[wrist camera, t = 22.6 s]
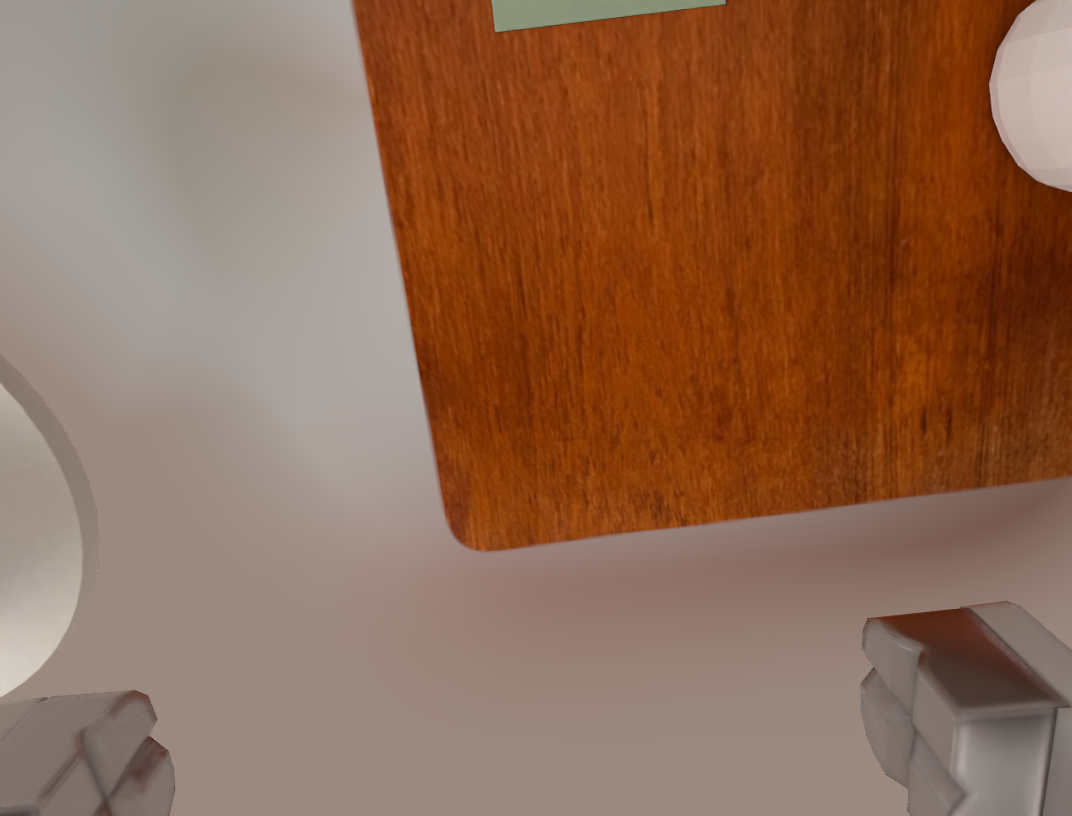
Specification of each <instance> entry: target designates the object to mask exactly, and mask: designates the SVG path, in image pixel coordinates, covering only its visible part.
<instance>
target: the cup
mask: <svg viewBox="0 0 1072 816" xmlns="http://www.w3.org/2000/svg"><path fill="white" fill-rule="evenodd" d="M989 88H990V97H991V107H992V116H993V119H994V121H995V124H996V126H997V129H998V132H999V134H1000V137H1001V139H1002V141H1003V143H1004V144H1005V146H1006V147H1007V149H1008V150H1009V152H1010V154H1011V155H1012V157H1013V158H1014V160H1015V161H1016V163H1017V164H1018V166H1019V167H1021V168H1022V169H1023V170H1024V171H1026V172H1027V173H1028V174H1029V175H1030V176H1032V177H1033V178H1034V179H1035V180H1037V181H1039V182H1041V183H1044V184H1046V185H1049V186H1053V187H1056V188H1059V189H1063V190H1066V191H1070V192H1072V0H1036V1H1035V2H1034V3H1032V4H1031V5H1030V6H1028V7H1027V8H1026V9H1025V10H1024V11H1022V12H1021V13H1020V14H1019V15H1018V16H1017V18H1016V19H1015V21H1014V23H1013V25H1012V26H1011V28H1010V30H1009V31H1008V33H1007V35H1006V36H1005V38H1004V40H1003V42H1002V43H1001V45H1000V47H999V48H998V51H997V55H996V59H995V63H994V66H993V70H992V74H991V78H990V82H989Z"/></svg>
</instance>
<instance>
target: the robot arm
mask: <svg viewBox="0 0 1072 816" xmlns="http://www.w3.org/2000/svg"><path fill="white" fill-rule="evenodd" d="M862 651H863V652H864V654H865V655H866V657H867V658H868V660H869V661H870V662H871V664H872V665H873V669H872V670H871V671H870V672H869V674H868V675H867V676H866V677H865V679H864V680H863V681H862V683H861V713H862V718H863V722H864V727H865V731H866V736H867V738H868V740H869V743H870V745H871V748H872V750H873V753H874V755H875V757H876V758H877V760H878V762H879V764H880V765H881V767H882V769H883V771H884V772H885V774H886V775H887V776H889V777H890V778H892V779H894V780H895V781H897V782H898V783H900V784H901V785H903V786H904V787H906V788H908V807H907V811H908V813H909V814H910V816H1072V650H1071V649H1070V648H1069V647H1067V646H1066V645H1065V644H1064V643H1063V642H1062V641H1061V640H1059V639H1058V638H1057V637H1056V636H1055V635H1054V634H1052V633H1051V632H1050V631H1049V630H1048V629H1047V628H1045V627H1044V626H1043V625H1042V624H1041V623H1040V622H1039V621H1037V620H1036V619H1035V618H1034V617H1033V616H1032V615H1030V614H1029V613H1028V612H1027V611H1026V610H1025V609H1023V608H1022V607H1021V606H1019V605H1017V604H1014V603H1011V602H1008V601H1002V602H994V603H986V604H978V605H970V606H963V607H960V608H959V609H950V610H941V611H931V612H922V613H912V614H903V615H893V616H884V617H875V618H867V621H866V623H865V626H864V629H863V638H862ZM156 721H157V717H156V714H155V712H154V709H153V707H152V704H151V701H150V699H149V697H148V695H146V694H143V693H141V692H138V691H136V690H132V691H118V692H105V693H92V694H79V695H66V696H53V697H50V698H44V697H43V698H33V699H23V700H11V701H8V702H5V703H2V704H0V816H169V815H170V810H171V806H172V801H173V797H174V793H175V777H174V767H173V764H172V761H171V758H170V755H169V751H168V750H167V749H165V748H164V747H163V746H161V745H160V744H159V743H158V742H157V741H155V740H154V739H153V738H152V737H150V734H151V732H152V730H153V728H154V726H155V723H156Z"/></svg>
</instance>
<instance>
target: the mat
mask: <svg viewBox="0 0 1072 816" xmlns="http://www.w3.org/2000/svg"><path fill="white" fill-rule="evenodd" d="M724 4H726V0H492V8H493V17H494V25H495V32H503V31H511V30H520V29H528V28H536V27H544V26H552V25H560V24H569V23H577V22H585V21H593V20H601V19H609V18H618V17H626V16H634V15H642V14H650V13H658V12H667V11H675V10H683V9H691V8H699V7H707V6H716V5H724Z"/></svg>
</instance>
